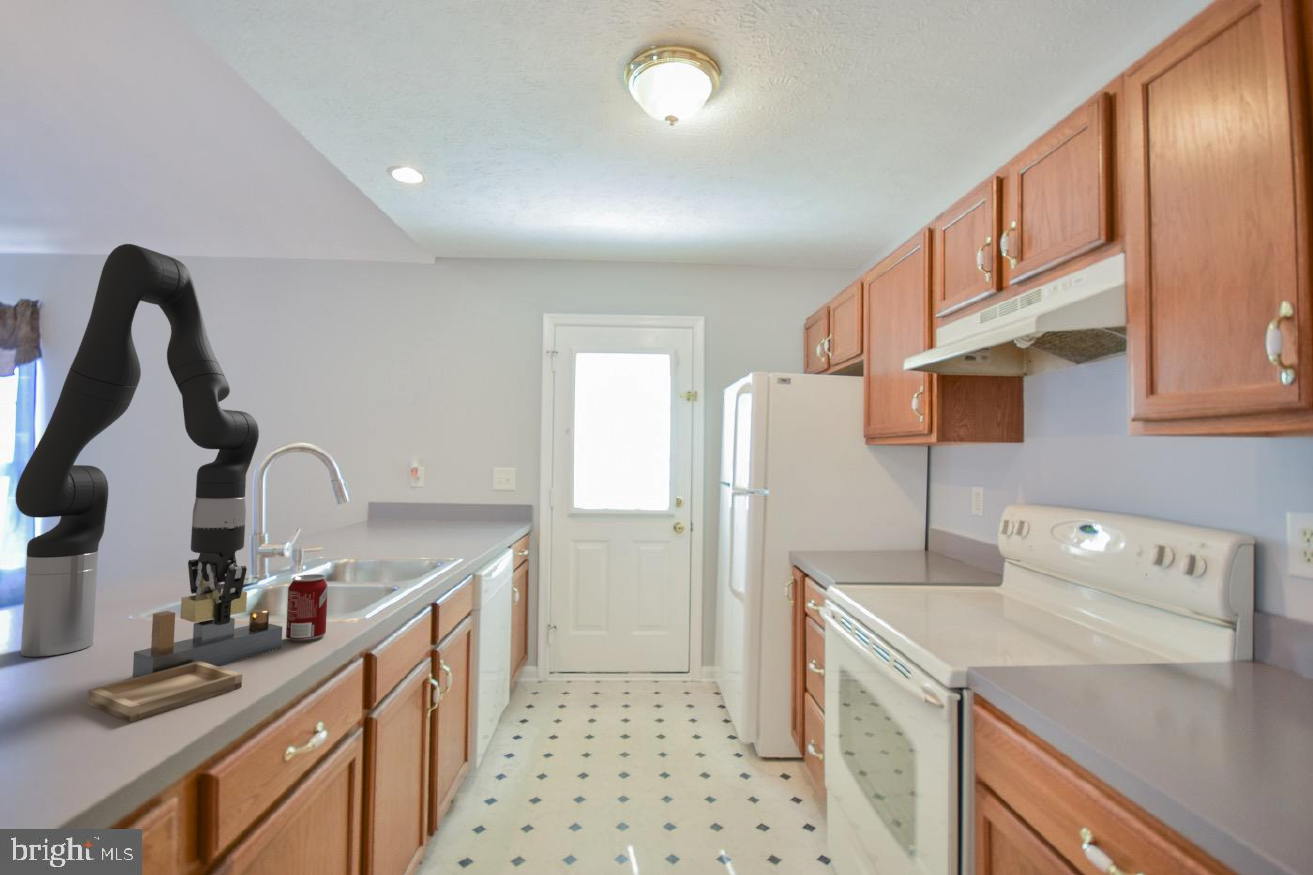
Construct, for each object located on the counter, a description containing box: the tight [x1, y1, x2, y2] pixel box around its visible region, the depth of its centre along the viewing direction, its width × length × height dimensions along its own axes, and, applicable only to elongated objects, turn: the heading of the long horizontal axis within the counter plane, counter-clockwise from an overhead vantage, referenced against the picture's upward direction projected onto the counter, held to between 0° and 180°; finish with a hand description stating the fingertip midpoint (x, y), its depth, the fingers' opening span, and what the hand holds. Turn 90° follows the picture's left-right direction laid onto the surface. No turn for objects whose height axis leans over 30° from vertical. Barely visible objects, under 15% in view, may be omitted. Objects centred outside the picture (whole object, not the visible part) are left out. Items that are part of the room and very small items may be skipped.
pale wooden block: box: [179, 588, 248, 623], centre depth 103 cm, size 4×8×4 cm, turn 154°
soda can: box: [285, 573, 329, 643], centre depth 117 cm, size 7×7×12 cm
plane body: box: [132, 608, 283, 678], centre depth 103 cm, size 20×6×10 cm, turn 154°
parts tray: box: [87, 661, 243, 723], centre depth 88 cm, size 12×14×2 cm
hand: (213, 621), depth 103 cm, fingers closed on pale wooden block, 4 cm apart
